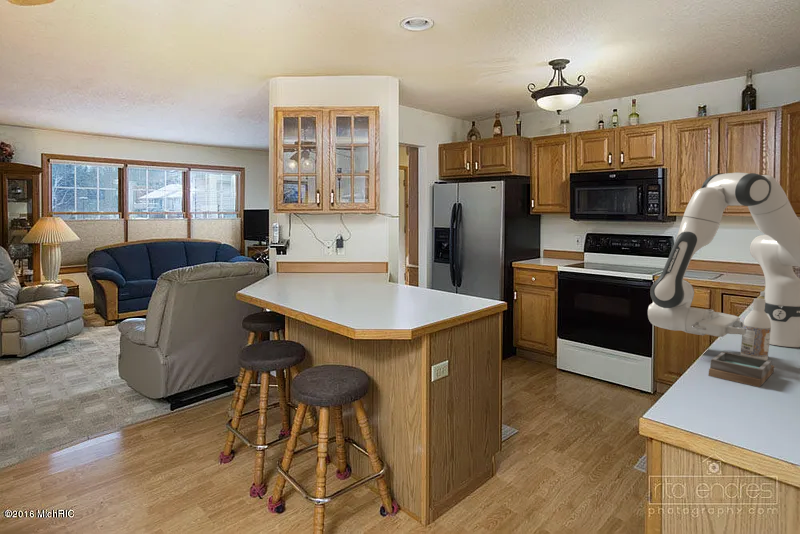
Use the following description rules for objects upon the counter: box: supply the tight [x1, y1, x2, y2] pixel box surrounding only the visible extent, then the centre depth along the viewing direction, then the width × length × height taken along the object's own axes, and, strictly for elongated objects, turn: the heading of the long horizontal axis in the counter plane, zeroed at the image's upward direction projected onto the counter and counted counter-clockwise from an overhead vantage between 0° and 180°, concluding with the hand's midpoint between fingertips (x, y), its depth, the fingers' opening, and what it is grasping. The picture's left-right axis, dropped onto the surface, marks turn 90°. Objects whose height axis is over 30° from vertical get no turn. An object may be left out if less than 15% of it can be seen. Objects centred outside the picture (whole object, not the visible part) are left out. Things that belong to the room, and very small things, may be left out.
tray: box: [708, 351, 775, 388], centre depth 139 cm, size 18×12×4 cm, turn 132°
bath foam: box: [740, 297, 771, 360], centre depth 150 cm, size 7×7×20 cm
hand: (749, 329), depth 151 cm, fingers open, 8 cm apart
